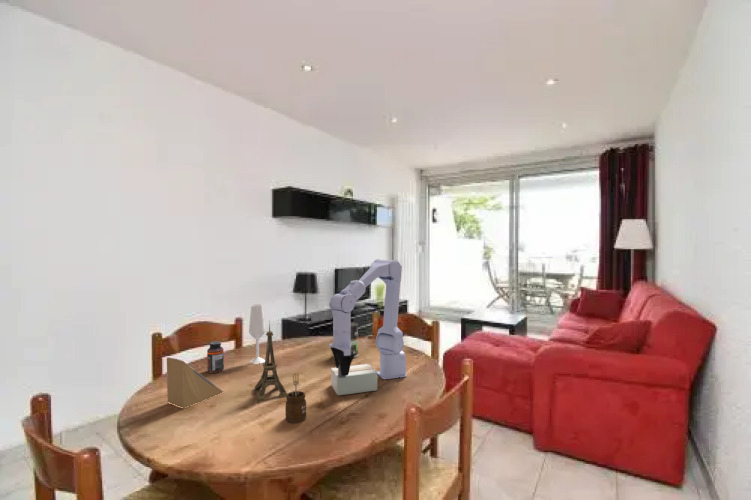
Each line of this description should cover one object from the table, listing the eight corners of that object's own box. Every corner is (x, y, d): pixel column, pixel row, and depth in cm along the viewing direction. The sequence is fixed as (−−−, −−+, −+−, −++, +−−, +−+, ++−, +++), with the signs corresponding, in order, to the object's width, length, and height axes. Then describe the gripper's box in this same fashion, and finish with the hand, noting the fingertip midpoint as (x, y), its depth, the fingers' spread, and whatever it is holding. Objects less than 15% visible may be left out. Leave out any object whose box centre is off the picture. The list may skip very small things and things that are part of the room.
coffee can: (358, 352, 176) (358, 321, 176) (357, 359, 166) (357, 326, 165) (336, 352, 176) (336, 321, 176) (333, 358, 166) (333, 326, 165)
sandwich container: (226, 392, 130) (225, 348, 129) (184, 410, 116) (183, 361, 116) (209, 387, 134) (209, 345, 134) (167, 404, 121) (166, 357, 120)
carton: (368, 380, 140) (368, 363, 140) (377, 389, 131) (377, 371, 131) (331, 384, 136) (330, 367, 136) (337, 395, 127) (337, 376, 127)
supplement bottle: (205, 370, 151) (205, 342, 151) (221, 367, 155) (221, 339, 155) (209, 374, 147) (209, 345, 146) (225, 371, 150) (225, 342, 150)
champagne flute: (260, 358, 167) (260, 303, 167) (268, 361, 163) (268, 305, 162) (246, 361, 162) (245, 305, 162) (254, 365, 158) (253, 307, 157)
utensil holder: (285, 424, 107) (284, 381, 107) (285, 414, 113) (285, 373, 113) (306, 422, 108) (306, 380, 108) (306, 412, 114) (306, 372, 114)
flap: (375, 388, 132) (375, 360, 132) (378, 391, 129) (378, 363, 129) (337, 393, 127) (337, 365, 127) (339, 396, 125) (338, 367, 125)
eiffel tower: (256, 402, 121) (255, 324, 121) (251, 390, 131) (251, 318, 130) (289, 396, 126) (288, 321, 125) (282, 385, 135) (282, 315, 135)
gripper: (325, 326, 132) (325, 365, 132) (334, 336, 118) (335, 380, 118) (345, 325, 134) (345, 363, 134) (356, 334, 120) (356, 377, 121)
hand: (342, 371), depth 126 cm, fingers open, 7 cm apart
